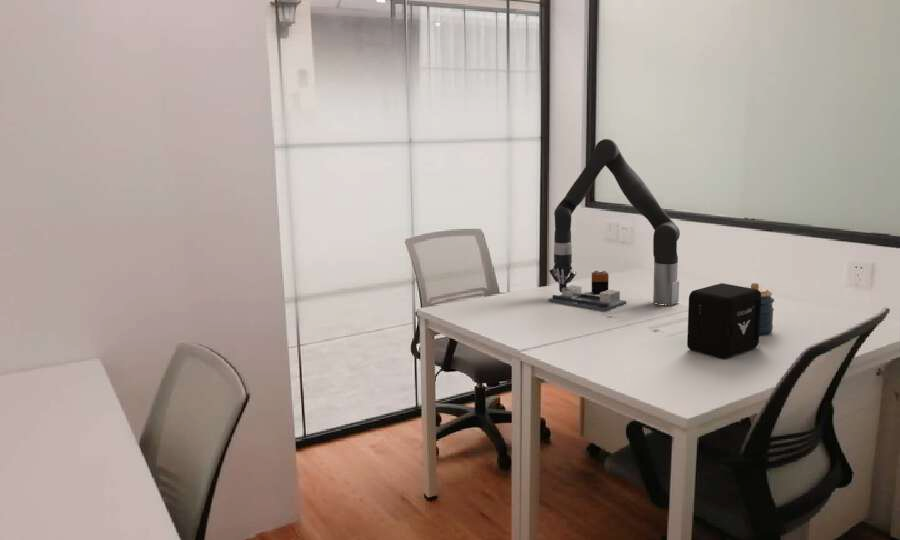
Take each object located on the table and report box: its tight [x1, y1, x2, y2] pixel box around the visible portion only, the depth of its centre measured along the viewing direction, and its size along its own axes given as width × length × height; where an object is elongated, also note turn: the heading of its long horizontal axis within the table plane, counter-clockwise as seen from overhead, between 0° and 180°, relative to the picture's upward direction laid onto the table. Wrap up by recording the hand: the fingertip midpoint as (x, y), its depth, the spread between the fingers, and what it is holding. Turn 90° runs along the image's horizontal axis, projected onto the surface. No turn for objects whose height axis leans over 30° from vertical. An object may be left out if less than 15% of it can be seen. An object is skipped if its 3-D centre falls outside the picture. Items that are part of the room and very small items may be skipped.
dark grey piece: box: [547, 289, 627, 313], centre depth 303 cm, size 28×16×6 cm, turn 46°
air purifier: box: [686, 282, 761, 359], centre depth 235 cm, size 20×15×20 cm
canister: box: [746, 282, 775, 337], centre depth 255 cm, size 13×13×18 cm
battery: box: [591, 270, 609, 295], centre depth 319 cm, size 4×7×10 cm, turn 88°
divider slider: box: [561, 284, 582, 298], centre depth 307 cm, size 5×10×4 cm, turn 136°
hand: (562, 292), depth 311 cm, fingers closed
